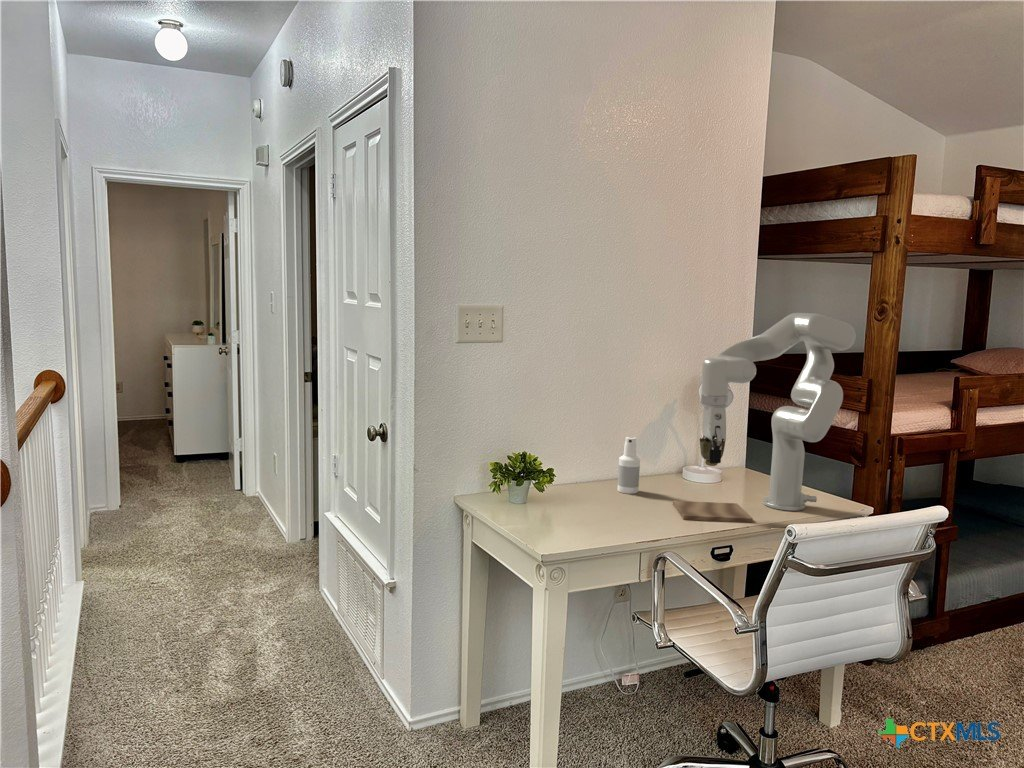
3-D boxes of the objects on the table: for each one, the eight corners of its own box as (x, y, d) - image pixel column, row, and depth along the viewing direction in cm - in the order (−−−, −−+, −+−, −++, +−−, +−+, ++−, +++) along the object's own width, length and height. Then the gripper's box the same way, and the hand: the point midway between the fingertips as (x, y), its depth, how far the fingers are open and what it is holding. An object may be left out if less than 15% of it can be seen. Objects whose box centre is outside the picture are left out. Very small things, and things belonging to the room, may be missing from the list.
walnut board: (736, 507, 236) (737, 503, 236) (752, 522, 221) (752, 518, 220) (672, 504, 237) (672, 500, 236) (683, 519, 221) (683, 515, 221)
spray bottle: (616, 492, 248) (619, 438, 246) (618, 487, 255) (621, 435, 253) (637, 495, 246) (640, 440, 244) (638, 489, 253) (642, 436, 251)
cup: (695, 462, 229) (696, 436, 228) (719, 462, 230) (720, 436, 229) (703, 468, 222) (704, 441, 221) (727, 467, 222) (729, 441, 221)
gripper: (735, 405, 215) (732, 467, 217) (719, 396, 232) (716, 453, 234) (708, 405, 215) (706, 466, 217) (694, 396, 232) (692, 453, 234)
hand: (711, 459), depth 226 cm, fingers closed on cup, 6 cm apart
